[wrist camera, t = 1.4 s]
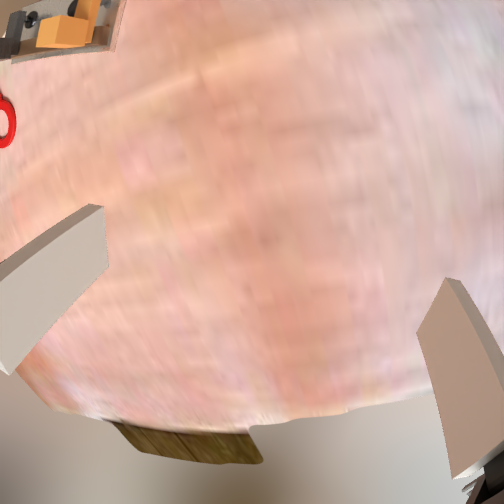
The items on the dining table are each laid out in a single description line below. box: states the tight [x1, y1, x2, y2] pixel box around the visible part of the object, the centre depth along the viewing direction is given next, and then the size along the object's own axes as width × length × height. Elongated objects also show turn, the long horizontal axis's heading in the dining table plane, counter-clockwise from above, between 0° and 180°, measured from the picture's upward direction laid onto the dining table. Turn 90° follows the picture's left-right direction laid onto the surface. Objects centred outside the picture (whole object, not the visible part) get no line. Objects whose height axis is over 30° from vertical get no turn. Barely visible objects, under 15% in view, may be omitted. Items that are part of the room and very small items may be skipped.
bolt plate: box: [11, 0, 126, 64], centre depth 25 cm, size 10×21×3 cm, turn 79°
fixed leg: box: [0, 11, 31, 61], centre depth 22 cm, size 8×3×8 cm, turn 169°
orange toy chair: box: [36, 0, 106, 48], centre depth 21 cm, size 8×3×8 cm, turn 169°
